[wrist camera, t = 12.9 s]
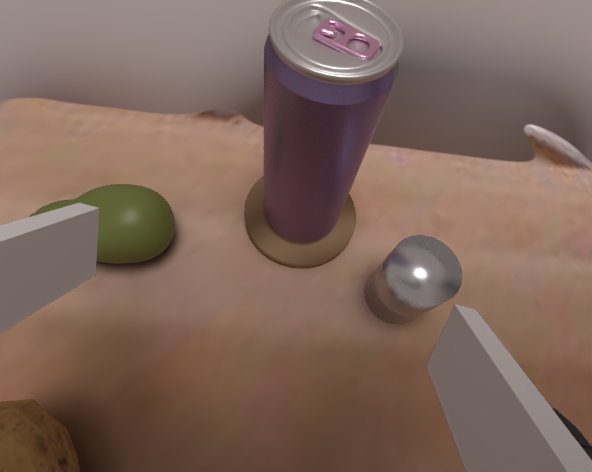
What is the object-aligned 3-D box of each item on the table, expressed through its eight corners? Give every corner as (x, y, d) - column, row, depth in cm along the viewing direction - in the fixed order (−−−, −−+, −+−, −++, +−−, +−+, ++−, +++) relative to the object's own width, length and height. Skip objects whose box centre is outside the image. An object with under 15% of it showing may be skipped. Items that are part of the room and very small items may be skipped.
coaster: (373, 239, 28) (377, 234, 27) (276, 287, 25) (276, 283, 25) (318, 159, 31) (320, 152, 30) (227, 195, 29) (226, 188, 28)
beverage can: (313, 259, 26) (369, 104, 12) (248, 220, 27) (234, 36, 13) (350, 204, 28) (430, 23, 15) (289, 169, 29) (311, -29, 16)
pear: (148, 241, 20) (-11, 257, 21) (182, 269, 25) (52, 282, 26) (158, 164, 23) (14, 181, 23) (187, 204, 27) (68, 217, 28)
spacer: (432, 307, 26) (476, 282, 21) (386, 335, 25) (420, 316, 19) (398, 259, 27) (431, 224, 22) (353, 283, 26) (377, 252, 21)
